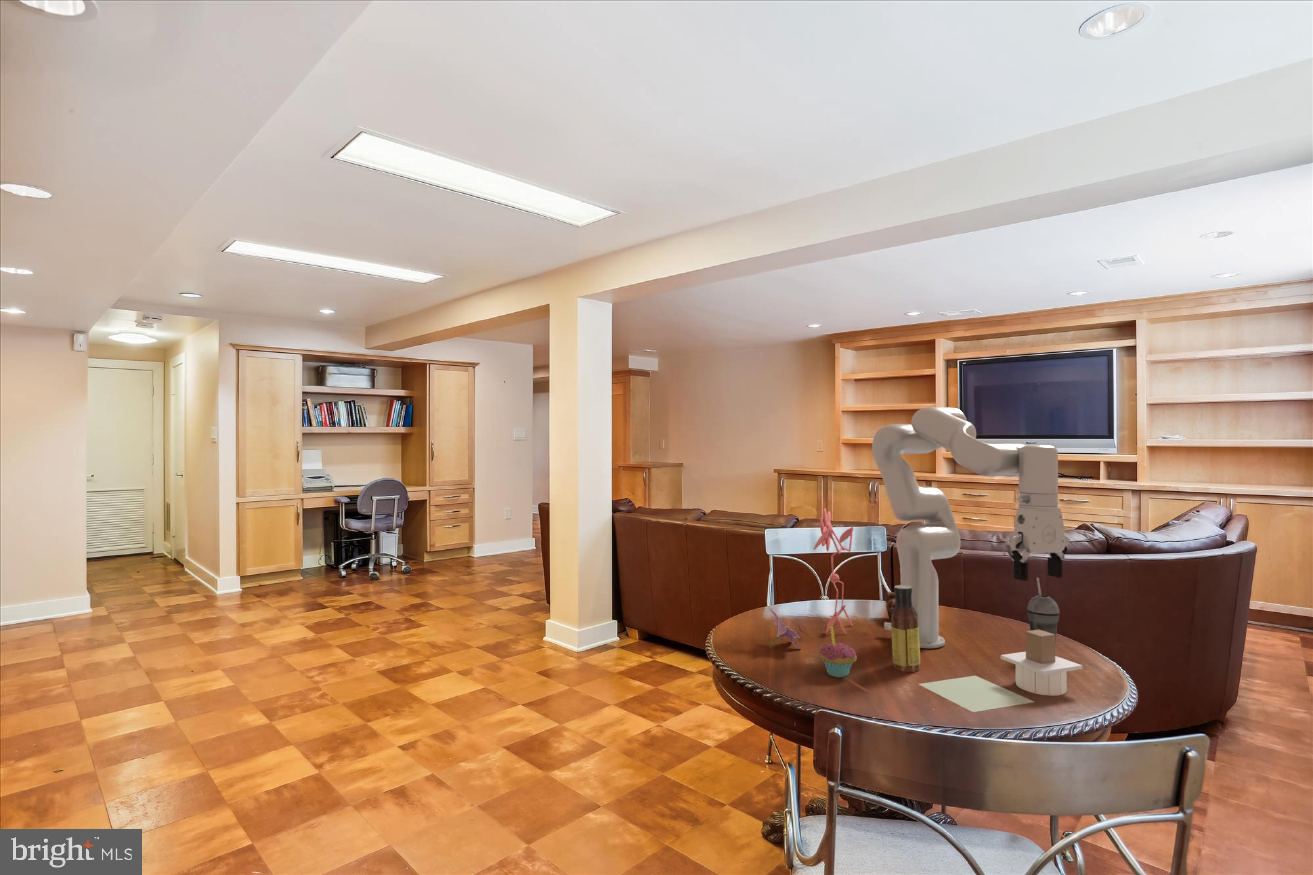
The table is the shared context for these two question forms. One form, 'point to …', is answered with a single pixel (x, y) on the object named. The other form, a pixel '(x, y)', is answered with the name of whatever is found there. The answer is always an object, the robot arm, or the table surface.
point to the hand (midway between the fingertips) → (1038, 578)
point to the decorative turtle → (890, 602)
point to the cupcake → (837, 657)
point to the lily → (784, 630)
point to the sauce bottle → (905, 631)
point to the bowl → (1041, 682)
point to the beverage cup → (1043, 613)
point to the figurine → (825, 539)
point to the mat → (975, 693)
